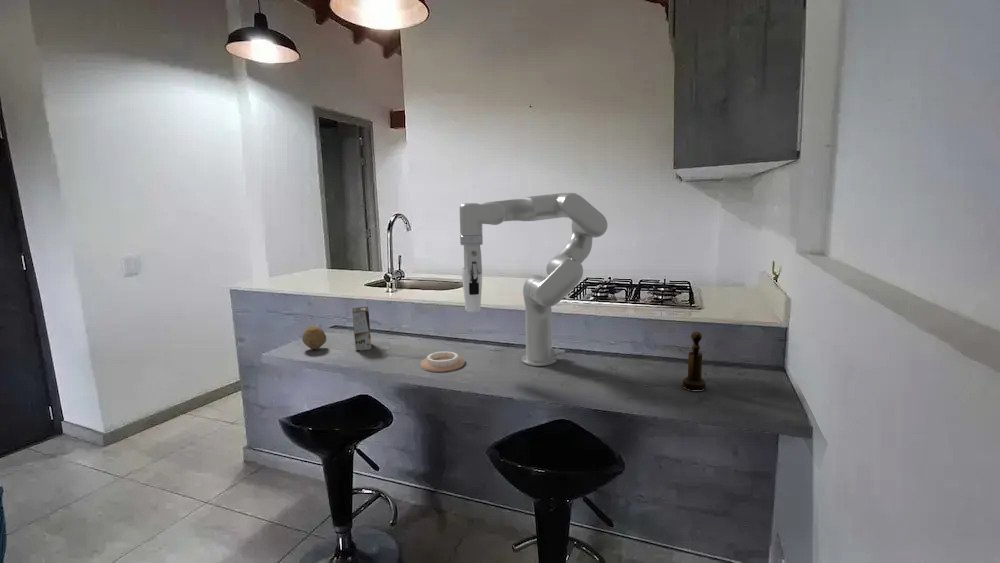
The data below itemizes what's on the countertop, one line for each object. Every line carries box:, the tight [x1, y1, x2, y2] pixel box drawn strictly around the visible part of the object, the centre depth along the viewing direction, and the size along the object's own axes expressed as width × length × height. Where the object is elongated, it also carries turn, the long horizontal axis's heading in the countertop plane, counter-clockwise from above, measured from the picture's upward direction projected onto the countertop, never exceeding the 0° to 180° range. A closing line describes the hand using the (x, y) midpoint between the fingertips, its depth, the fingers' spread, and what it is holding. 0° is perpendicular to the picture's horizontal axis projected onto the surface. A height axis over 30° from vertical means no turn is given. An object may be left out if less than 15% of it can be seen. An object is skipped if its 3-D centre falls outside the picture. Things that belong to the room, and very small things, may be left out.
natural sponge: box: [302, 325, 327, 350], centre depth 197 cm, size 9×9×10 cm
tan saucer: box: [420, 351, 466, 373], centre depth 176 cm, size 16×16×3 cm
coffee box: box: [352, 306, 372, 351], centre depth 198 cm, size 9×6×16 cm
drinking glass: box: [461, 266, 483, 313], centre depth 165 cm, size 7×7×15 cm
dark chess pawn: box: [682, 330, 707, 390], centre depth 148 cm, size 7×6×18 cm
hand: (472, 292), depth 165 cm, fingers closed on drinking glass, 6 cm apart
